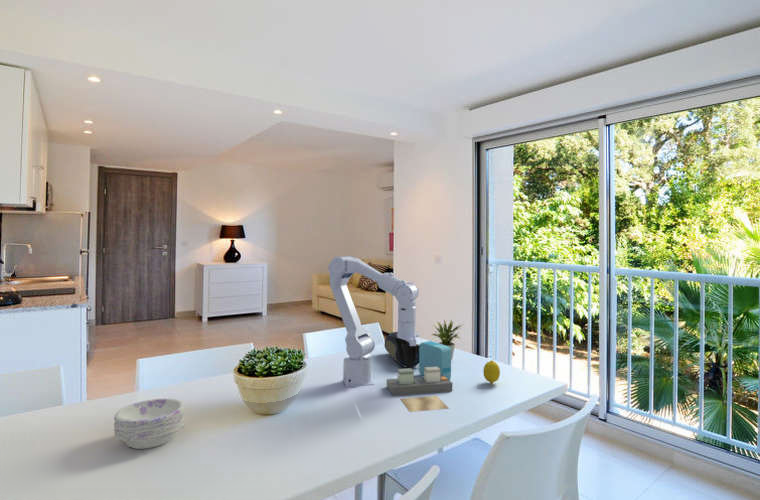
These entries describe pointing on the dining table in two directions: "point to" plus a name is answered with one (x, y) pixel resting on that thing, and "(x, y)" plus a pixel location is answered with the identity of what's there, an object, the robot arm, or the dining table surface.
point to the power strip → (419, 386)
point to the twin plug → (431, 374)
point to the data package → (435, 358)
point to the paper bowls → (149, 422)
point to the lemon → (491, 371)
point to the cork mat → (423, 403)
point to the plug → (405, 376)
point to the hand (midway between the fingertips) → (406, 362)
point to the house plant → (447, 335)
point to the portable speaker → (393, 350)
